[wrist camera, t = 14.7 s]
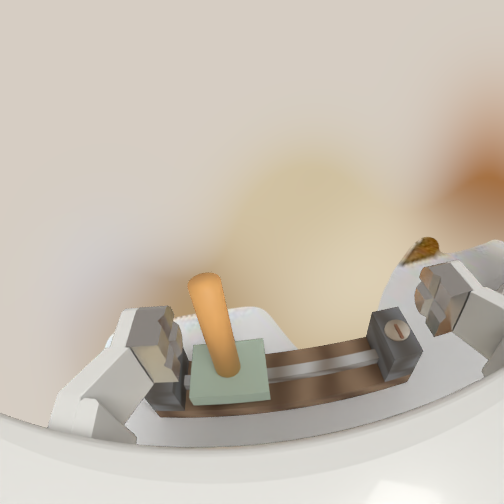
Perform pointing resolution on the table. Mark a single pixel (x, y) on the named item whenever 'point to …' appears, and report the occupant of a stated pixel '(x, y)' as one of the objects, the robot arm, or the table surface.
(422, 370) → the table surface
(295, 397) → the rail
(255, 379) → the slider with orange handle
